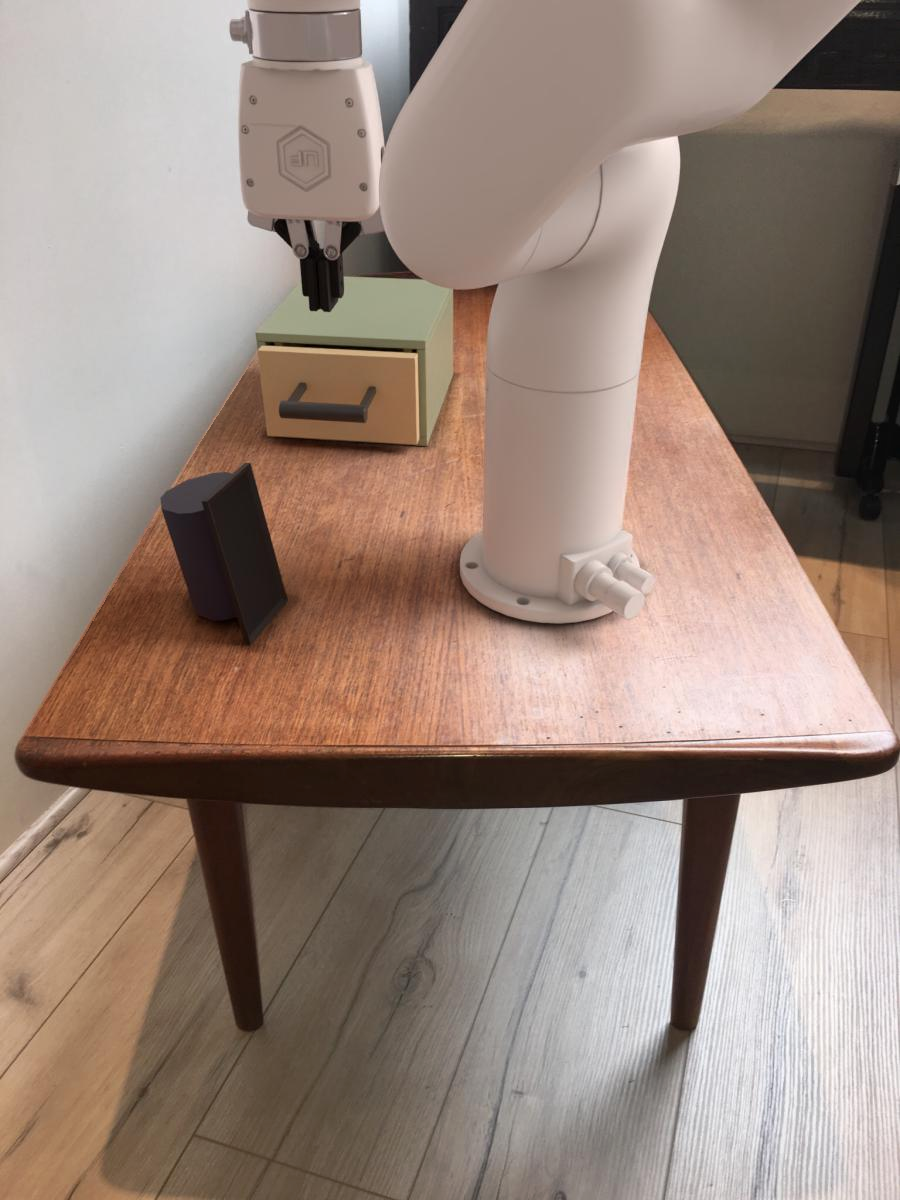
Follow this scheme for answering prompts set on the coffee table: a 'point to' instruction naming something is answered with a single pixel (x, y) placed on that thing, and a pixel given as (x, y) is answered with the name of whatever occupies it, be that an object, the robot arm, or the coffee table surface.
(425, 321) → the cabinet
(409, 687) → the coffee table surface
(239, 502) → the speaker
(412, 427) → the drawer
